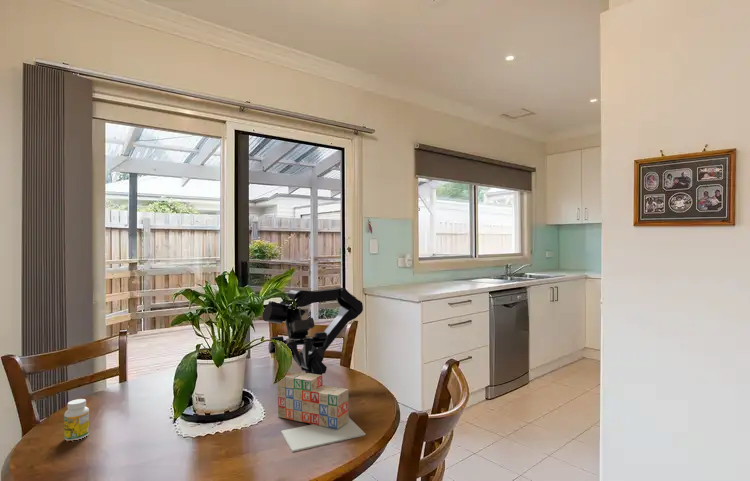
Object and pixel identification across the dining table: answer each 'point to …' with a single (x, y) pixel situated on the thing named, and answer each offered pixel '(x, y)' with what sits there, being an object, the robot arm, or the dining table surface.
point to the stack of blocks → (312, 400)
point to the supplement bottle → (76, 420)
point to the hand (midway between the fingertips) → (303, 365)
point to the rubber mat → (319, 435)
